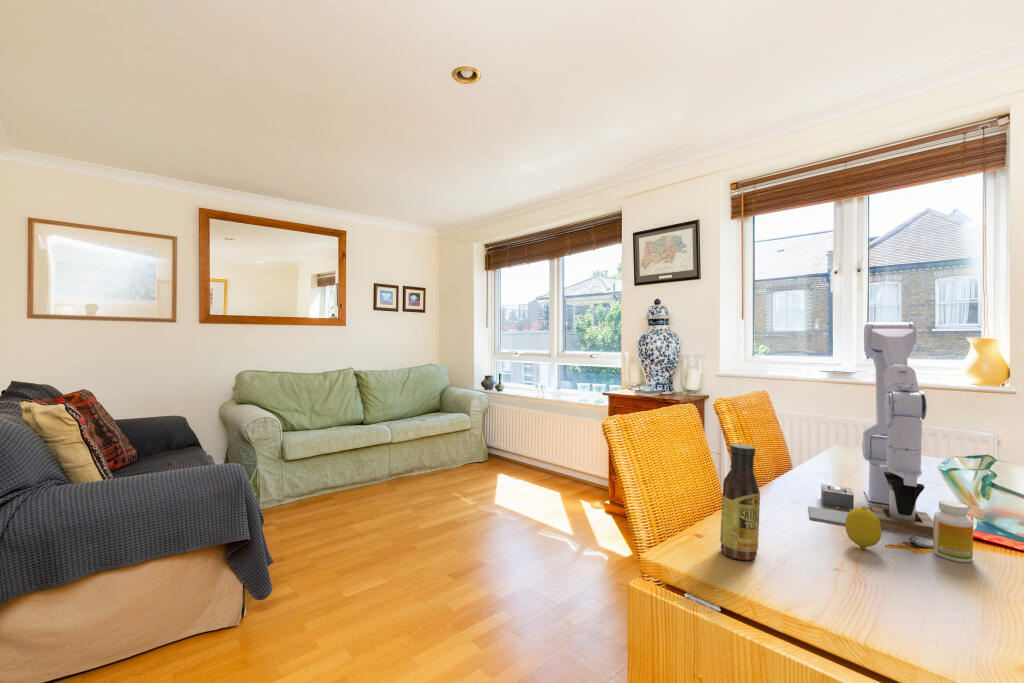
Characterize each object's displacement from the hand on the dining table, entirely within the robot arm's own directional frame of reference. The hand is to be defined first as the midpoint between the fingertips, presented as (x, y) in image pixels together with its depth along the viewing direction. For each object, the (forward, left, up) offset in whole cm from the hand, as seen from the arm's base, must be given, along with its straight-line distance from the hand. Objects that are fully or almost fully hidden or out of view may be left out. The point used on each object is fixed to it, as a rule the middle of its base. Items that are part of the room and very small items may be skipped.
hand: (902, 510), depth 103 cm
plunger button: (-8, -11, -2) cm, 14 cm away
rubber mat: (+3, -13, -3) cm, 14 cm away
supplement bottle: (+14, +5, -3) cm, 15 cm away
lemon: (+19, -9, -3) cm, 21 cm away
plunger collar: (-8, -11, -3) cm, 14 cm away
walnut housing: (0, 0, -3) cm, 3 cm away
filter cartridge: (0, 0, -3) cm, 3 cm away
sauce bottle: (+34, -29, -3) cm, 45 cm away
